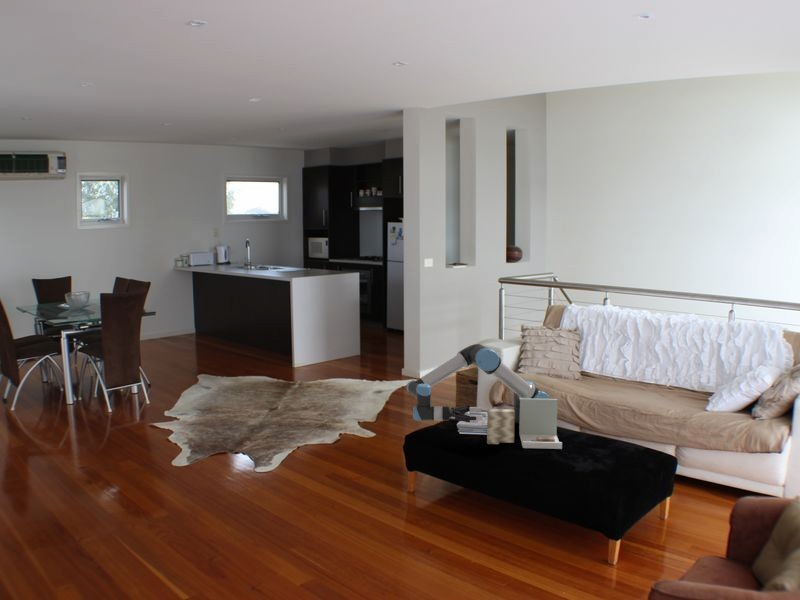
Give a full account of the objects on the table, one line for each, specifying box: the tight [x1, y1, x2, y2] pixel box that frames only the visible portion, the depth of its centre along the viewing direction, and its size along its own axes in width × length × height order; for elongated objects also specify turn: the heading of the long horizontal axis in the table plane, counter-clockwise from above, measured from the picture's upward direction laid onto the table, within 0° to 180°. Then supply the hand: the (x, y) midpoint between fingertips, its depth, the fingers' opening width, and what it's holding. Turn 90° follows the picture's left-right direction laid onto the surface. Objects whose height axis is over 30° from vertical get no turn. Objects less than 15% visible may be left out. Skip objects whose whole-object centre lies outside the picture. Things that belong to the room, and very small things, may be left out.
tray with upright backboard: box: [518, 398, 563, 450], centre depth 380 cm, size 20×22×21 cm
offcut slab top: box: [536, 437, 555, 442], centre depth 374 cm, size 9×3×2 cm, turn 86°
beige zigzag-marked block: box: [486, 408, 515, 445], centre depth 380 cm, size 14×4×18 cm, turn 86°
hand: (482, 413), depth 380 cm, fingers open, 13 cm apart
